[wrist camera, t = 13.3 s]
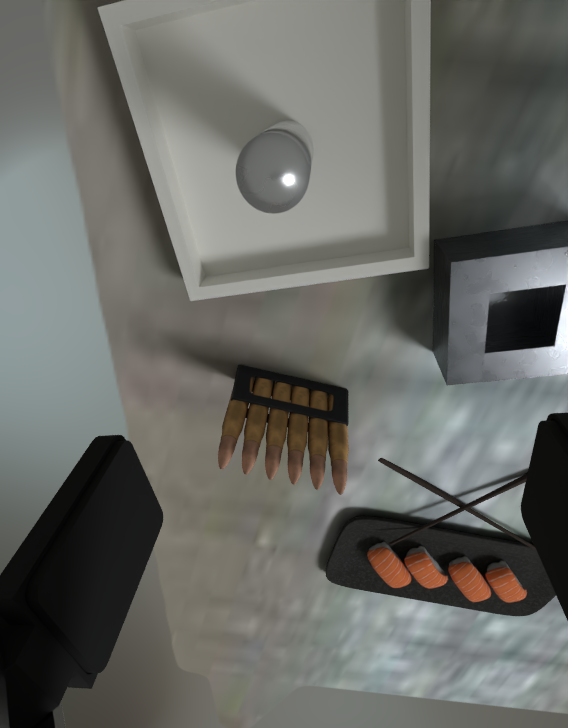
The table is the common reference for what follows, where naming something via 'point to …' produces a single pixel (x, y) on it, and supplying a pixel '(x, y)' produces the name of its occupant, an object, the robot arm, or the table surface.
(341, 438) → the ammunition clip
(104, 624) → the robot arm
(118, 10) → the tray
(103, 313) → the table surface
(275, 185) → the pin
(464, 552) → the sushi plate
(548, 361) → the pin block
